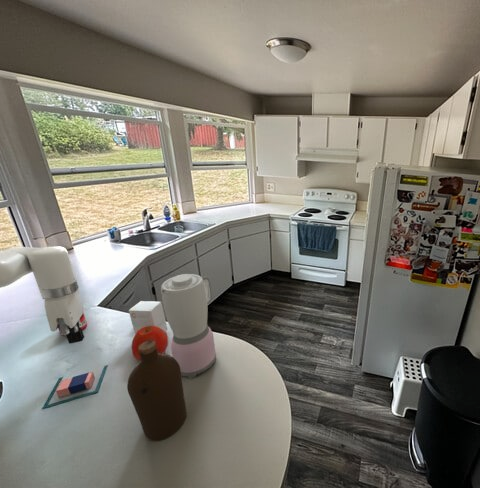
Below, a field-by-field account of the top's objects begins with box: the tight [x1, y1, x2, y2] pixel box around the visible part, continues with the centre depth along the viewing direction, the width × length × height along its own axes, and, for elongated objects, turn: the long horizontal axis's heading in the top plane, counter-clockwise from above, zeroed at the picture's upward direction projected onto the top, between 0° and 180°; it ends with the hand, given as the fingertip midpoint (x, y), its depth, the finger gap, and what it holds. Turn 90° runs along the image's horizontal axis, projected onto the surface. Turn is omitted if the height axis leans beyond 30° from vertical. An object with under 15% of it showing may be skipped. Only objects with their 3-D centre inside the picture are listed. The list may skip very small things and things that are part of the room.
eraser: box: [55, 371, 95, 398], centre depth 73 cm, size 7×4×3 cm, turn 118°
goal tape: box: [41, 364, 108, 410], centre depth 74 cm, size 12×11×1 cm
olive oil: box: [126, 341, 187, 442], centre depth 61 cm, size 11×11×25 cm
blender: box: [160, 273, 217, 379], centre depth 79 cm, size 16×12×32 cm
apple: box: [131, 325, 169, 362], centre depth 85 cm, size 10×10×10 cm
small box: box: [128, 300, 168, 335], centre depth 93 cm, size 8×6×13 cm
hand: (76, 340), depth 78 cm, fingers closed
